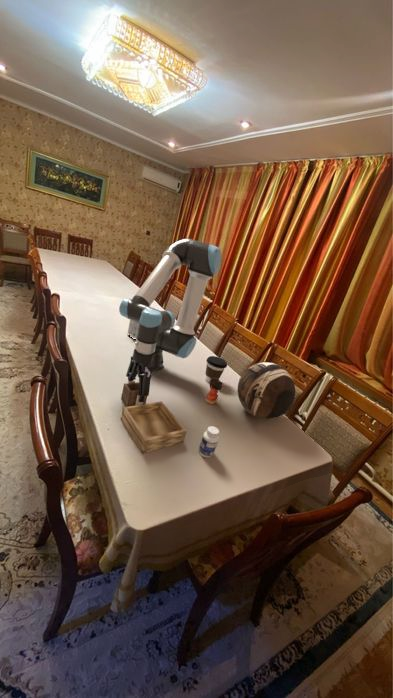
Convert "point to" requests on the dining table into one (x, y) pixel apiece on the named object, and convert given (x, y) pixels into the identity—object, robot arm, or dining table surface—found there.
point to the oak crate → (152, 426)
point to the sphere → (266, 390)
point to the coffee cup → (214, 367)
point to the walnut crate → (131, 394)
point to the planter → (133, 328)
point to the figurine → (213, 390)
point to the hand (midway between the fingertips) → (133, 400)
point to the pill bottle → (209, 442)
